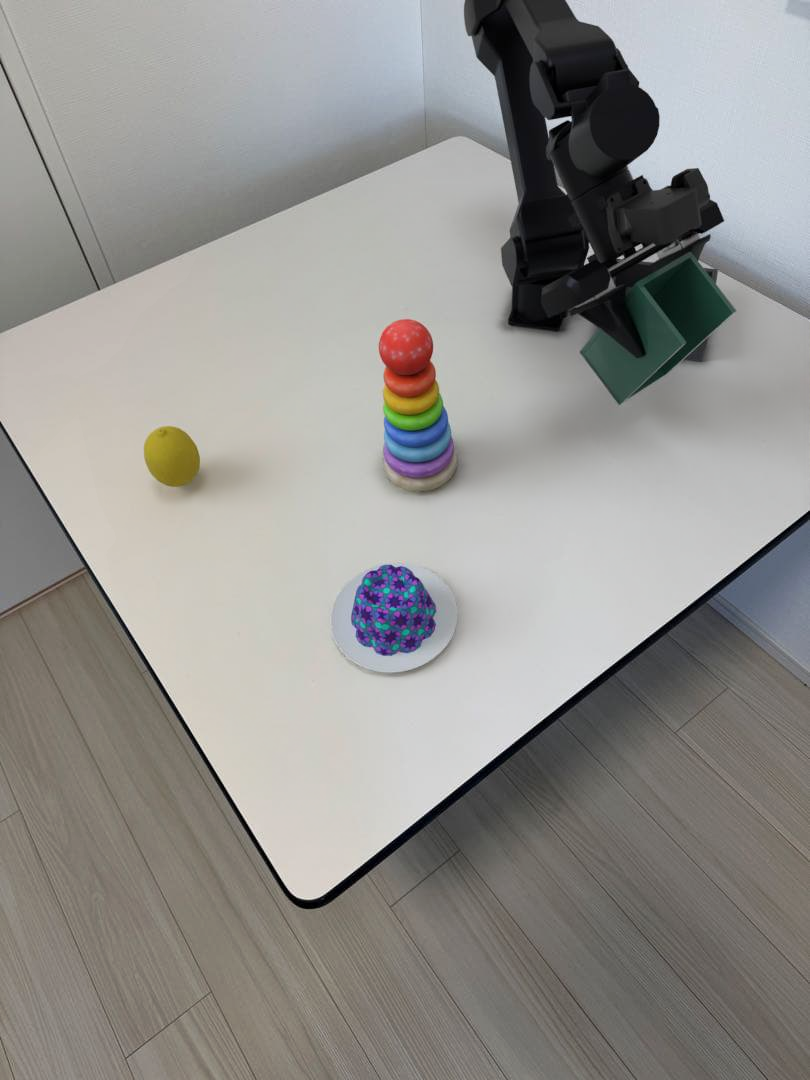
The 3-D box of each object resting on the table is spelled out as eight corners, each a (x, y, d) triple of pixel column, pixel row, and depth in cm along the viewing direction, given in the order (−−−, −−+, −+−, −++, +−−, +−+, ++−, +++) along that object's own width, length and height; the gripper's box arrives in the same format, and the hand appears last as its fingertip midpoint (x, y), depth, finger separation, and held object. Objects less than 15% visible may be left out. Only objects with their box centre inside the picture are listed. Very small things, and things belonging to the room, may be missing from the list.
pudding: (315, 664, 75) (305, 636, 71) (350, 559, 82) (342, 527, 78) (444, 686, 73) (441, 658, 68) (468, 576, 79) (467, 544, 75)
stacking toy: (466, 447, 89) (462, 306, 74) (445, 502, 85) (435, 364, 70) (399, 434, 92) (381, 294, 77) (374, 487, 87) (350, 349, 72)
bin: (595, 347, 97) (598, 320, 94) (611, 285, 104) (615, 258, 101) (701, 361, 94) (708, 334, 91) (710, 296, 101) (718, 269, 98)
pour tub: (579, 352, 85) (635, 282, 73) (627, 322, 87) (690, 250, 75) (618, 405, 85) (682, 344, 72) (666, 374, 87) (736, 310, 74)
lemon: (167, 508, 88) (142, 458, 81) (152, 475, 91) (127, 424, 84) (215, 488, 89) (194, 437, 83) (199, 456, 92) (177, 404, 86)
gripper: (572, 193, 65) (653, 369, 68) (733, 109, 71) (800, 276, 74) (506, 238, 75) (578, 389, 79) (650, 162, 81) (713, 306, 84)
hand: (668, 339), depth 78 cm, fingers closed on pour tub, 7 cm apart
